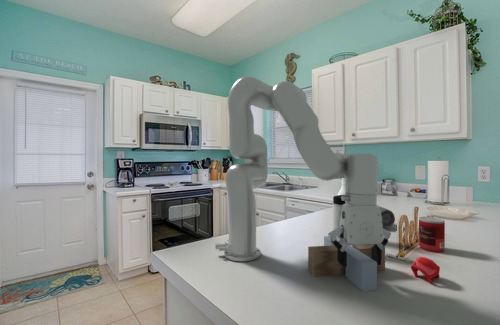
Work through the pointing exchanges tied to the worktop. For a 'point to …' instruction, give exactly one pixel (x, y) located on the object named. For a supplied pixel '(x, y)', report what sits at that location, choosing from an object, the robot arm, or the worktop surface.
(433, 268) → the cap
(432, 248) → the canned food
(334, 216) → the travel mug
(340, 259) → the robot arm
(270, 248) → the worktop surface
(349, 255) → the crosspiece
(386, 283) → the worktop surface
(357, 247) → the beam
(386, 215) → the bluetooth speaker
